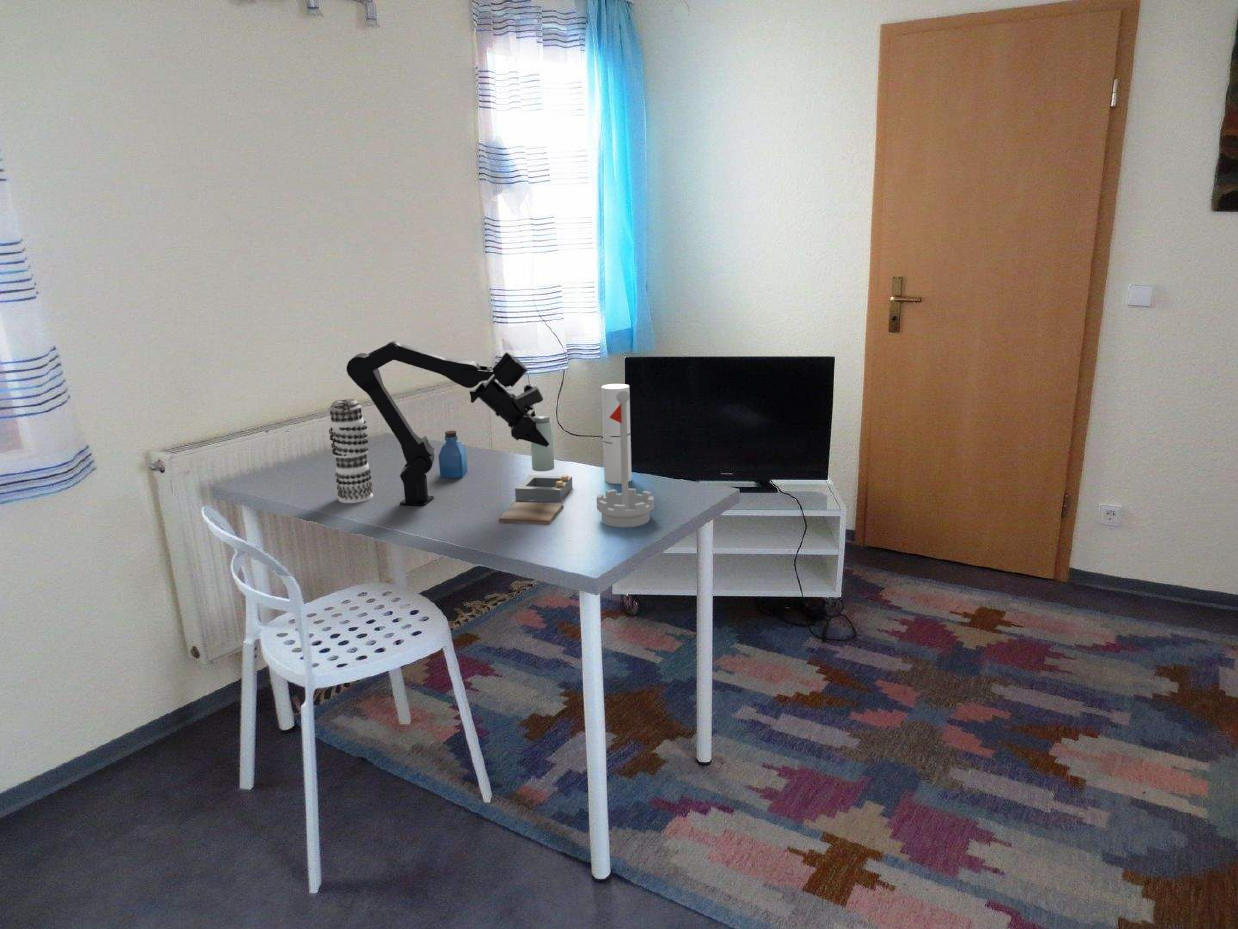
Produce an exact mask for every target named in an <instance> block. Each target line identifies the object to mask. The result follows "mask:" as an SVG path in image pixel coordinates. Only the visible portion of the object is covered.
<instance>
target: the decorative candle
mask: <svg viewBox="0 0 1238 929" xmlns="http://www.w3.org/2000/svg"><path fill="white" fill-rule="evenodd" d="M362 407H363V405H362V404H360V403H359V402H358V400H356V399H352V398H345V399H338V400H335V401H333V402H332V403H331V405H330V406H329V407H328V408H327V409H328V410H329V412H330V413H329V416H330V421H329V422H330V428H329V430H328V434H329V440H330V441H331V442H332V443H331V445H330V447H331V448H332V449H331V450H332V452H331V454H332V455H333V457H335V463H336V465H335V471H336V472H335V475H334V476H335V477H336V479H335V482H336V483H337V485H336V490H337V496H338V501H339V502H340V503H344V504H356V503H362V502H367V501H369V500H371V499H372V498H374V494H373V491H374V489H373V487H372V486H373V482H372V481H371V479H372V475H370V474H371V471H372V470H371V469H370V468H369V467H370V466H369V462H368V456H367V454H368V453H369V447H366V444H368V443H369V440H368V439H366V438H367V437H368V434H367V433H366V432H364V431H365V430H367V429H368V426H367V425H365V424H366V423H367V421H366V420H364V416H363V411H362Z"/></svg>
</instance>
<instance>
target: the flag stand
mask: <svg viewBox="0 0 1238 929" xmlns="http://www.w3.org/2000/svg"><path fill="white" fill-rule="evenodd" d="M616 399H617V401H618V402H619V404H620V405H619V406H618V407H617V409H616V410H615V411H614V412H613V413H612V415H611V416H610V417H609V418H611V419H613V420H615V421H617V422H619V423H620V441H621V479H622V484H621V493H620V492H619V493H618V492H617V491H618V490H616V489H614V488H613V489H608V490H606V491H605V495H604V494H603V493H602V494H601V493H600V494H597V496H596V509H597V511H598V512H599V513H601V522H602V521H603V522H604V523H603V522H602V523H603V524H605V525H607V526H609V527H613V528H614V527H615V528H635V527H639V526H643V525H645V524H647V523H648V522H650V519H651V517H650V515H651V511H653V509H655V508H654V507H655V497H654V496H652V492H650V491H647V490H643V491H641V493H637V488H631V487H629V482H628V451H627V410H626V402H627V401H628V400H629V393H628V392H627V391H625V390H620V391H619V392H618V393H617V394H616Z"/></svg>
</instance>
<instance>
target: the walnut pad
mask: <svg viewBox="0 0 1238 929" xmlns="http://www.w3.org/2000/svg"><path fill="white" fill-rule="evenodd" d="M563 509H564V503H553V502H552V503H549V502H548V503H547V502H529V501H528V502H527V501H526V502H524V501H522V502H521V501H515V502H514V503H513V504H512V505H511V506H509V507H508V509H507V510H505V511H504V513H503V514H502V515H501V516H500V517H499V518H498V522H499V521H502V522H501V523H516V522H524V523H523V524H538V523H543V524H542V525H550V524H551V523H552V522H553V521H554V519H555V518H556V517H557V516H558V514H559V513H560V512H561V511H562V510H563ZM560 510H561V511H560ZM556 515H557V516H556ZM555 516H556V517H555ZM503 521H504V522H503ZM551 521H552V522H551ZM526 522H527V523H526ZM550 522H551V523H550Z"/></svg>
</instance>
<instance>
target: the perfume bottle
mask: <svg viewBox="0 0 1238 929" xmlns="http://www.w3.org/2000/svg"><path fill="white" fill-rule="evenodd" d="M444 434H445V435H444V442H445V443H444V444H443V445H442V446H441V449H440V452H439V454H438V465H439V468H438V469H439V474H440V475H439V477H440V478H441V479H444V478H445V479H447V478H448V479H449V478H452V479H453V478H464V477H465V476H466V474H467V473H468V461H467V449H466V448H465V447H464V446H465V445H463V444H462V442H461V441H458V435H457V430H446V431H444Z"/></svg>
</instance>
